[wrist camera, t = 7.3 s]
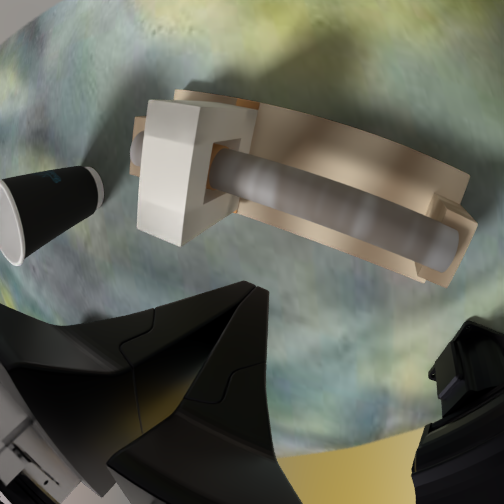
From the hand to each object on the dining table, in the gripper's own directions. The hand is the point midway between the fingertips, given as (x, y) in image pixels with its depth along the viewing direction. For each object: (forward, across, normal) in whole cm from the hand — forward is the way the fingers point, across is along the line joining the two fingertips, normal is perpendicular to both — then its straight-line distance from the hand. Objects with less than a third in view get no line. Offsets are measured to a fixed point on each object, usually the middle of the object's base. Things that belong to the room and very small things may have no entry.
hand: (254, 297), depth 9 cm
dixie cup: (+13, +23, +6) cm, 27 cm away
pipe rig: (+13, +2, -1) cm, 13 cm away
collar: (+11, +7, -1) cm, 13 cm away
